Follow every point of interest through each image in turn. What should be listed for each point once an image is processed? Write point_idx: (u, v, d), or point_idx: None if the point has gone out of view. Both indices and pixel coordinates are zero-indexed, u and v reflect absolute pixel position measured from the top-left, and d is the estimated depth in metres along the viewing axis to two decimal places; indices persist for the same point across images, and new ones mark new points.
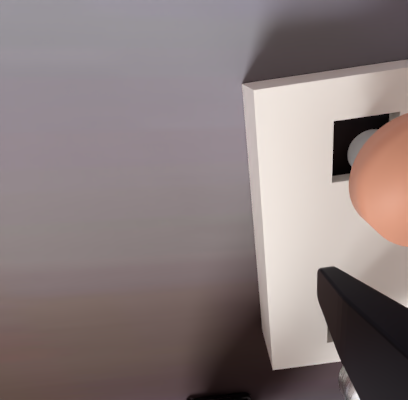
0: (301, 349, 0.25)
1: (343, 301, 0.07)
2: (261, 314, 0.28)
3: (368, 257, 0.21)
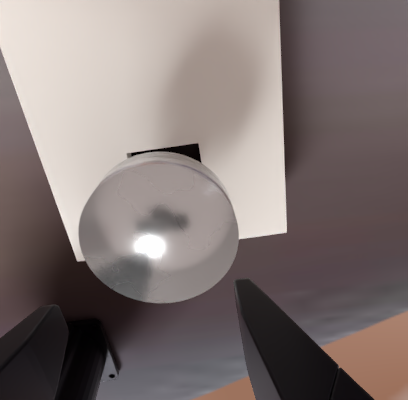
0: None
1: (241, 315, 0.07)
2: None
3: (163, 65, 0.14)
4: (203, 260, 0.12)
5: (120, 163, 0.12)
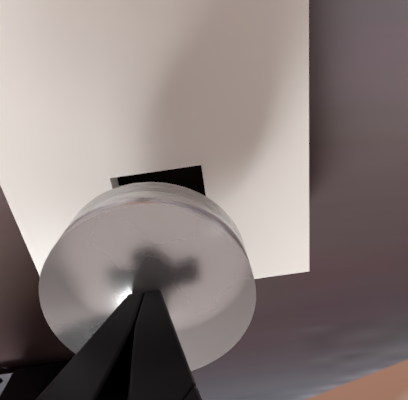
0: None
1: (135, 329, 0.07)
2: None
3: (155, 67, 0.11)
4: (207, 326, 0.09)
5: (97, 198, 0.09)
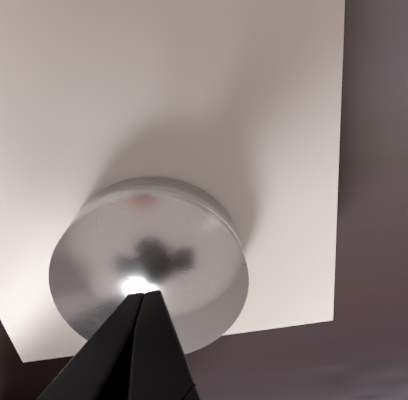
0: None
1: (135, 329, 0.07)
2: None
3: (143, 75, 0.08)
4: (204, 310, 0.10)
5: (102, 191, 0.09)
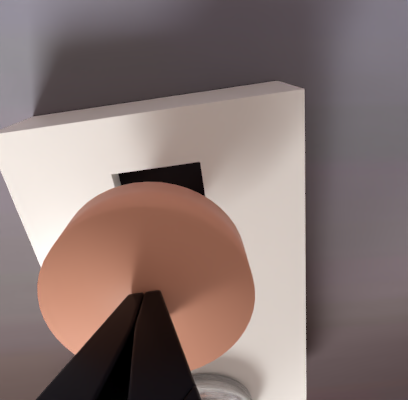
0: None
1: (134, 329, 0.07)
2: None
3: None
4: None
5: None
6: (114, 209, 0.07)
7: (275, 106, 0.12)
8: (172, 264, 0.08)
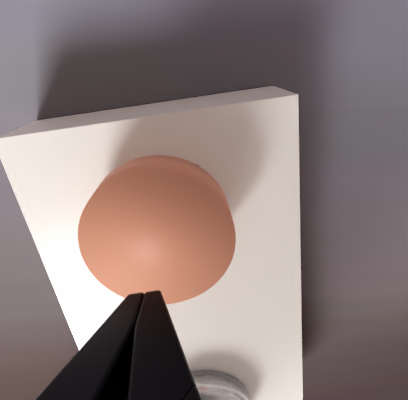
0: None
1: (135, 329, 0.07)
2: None
3: (203, 332, 0.17)
4: None
5: None
6: (134, 170, 0.11)
7: (270, 111, 0.13)
8: (175, 212, 0.11)
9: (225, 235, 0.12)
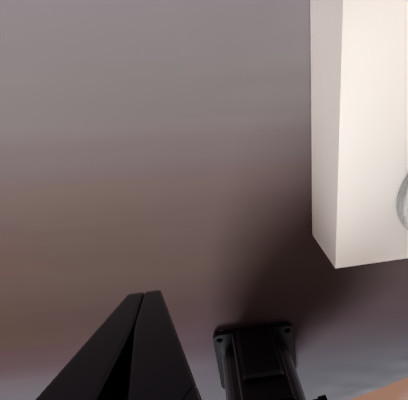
0: (375, 237, 0.19)
1: (135, 329, 0.07)
2: (313, 209, 0.22)
3: None
4: None
5: None
6: None
7: None
8: None
9: None
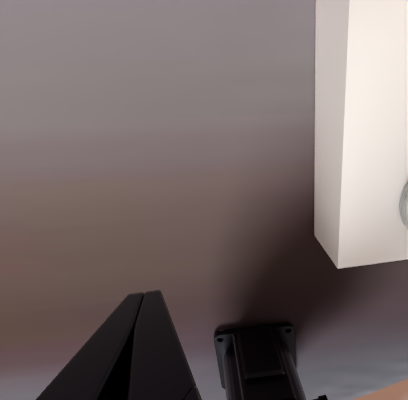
0: (378, 237, 0.19)
1: (134, 329, 0.07)
2: (316, 209, 0.22)
3: None
4: None
5: None
6: None
7: None
8: None
9: None
